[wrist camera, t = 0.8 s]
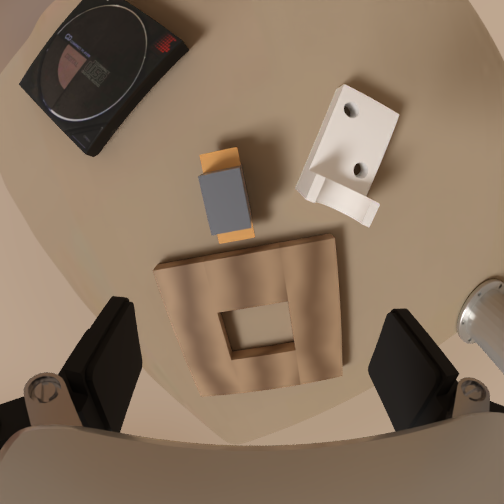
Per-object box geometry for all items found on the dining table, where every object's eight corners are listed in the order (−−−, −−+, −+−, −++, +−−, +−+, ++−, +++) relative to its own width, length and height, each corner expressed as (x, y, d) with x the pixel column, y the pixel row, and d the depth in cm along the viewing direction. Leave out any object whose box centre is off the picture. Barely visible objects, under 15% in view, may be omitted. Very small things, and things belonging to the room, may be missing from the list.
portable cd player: (33, 90, 29) (16, 88, 25) (110, -5, 25) (98, -16, 21) (98, 156, 33) (82, 158, 29) (189, 51, 29) (182, 40, 25)
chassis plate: (330, 233, 36) (334, 238, 34) (339, 367, 43) (342, 375, 41) (157, 264, 37) (152, 270, 35) (202, 387, 45) (201, 396, 43)
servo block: (238, 146, 33) (235, 147, 27) (254, 230, 36) (255, 246, 30) (203, 154, 33) (193, 156, 27) (221, 236, 36) (216, 253, 31)
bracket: (347, 210, 35) (369, 227, 28) (294, 187, 34) (305, 199, 27) (386, 116, 31) (416, 112, 24) (335, 89, 30) (356, 76, 23)
